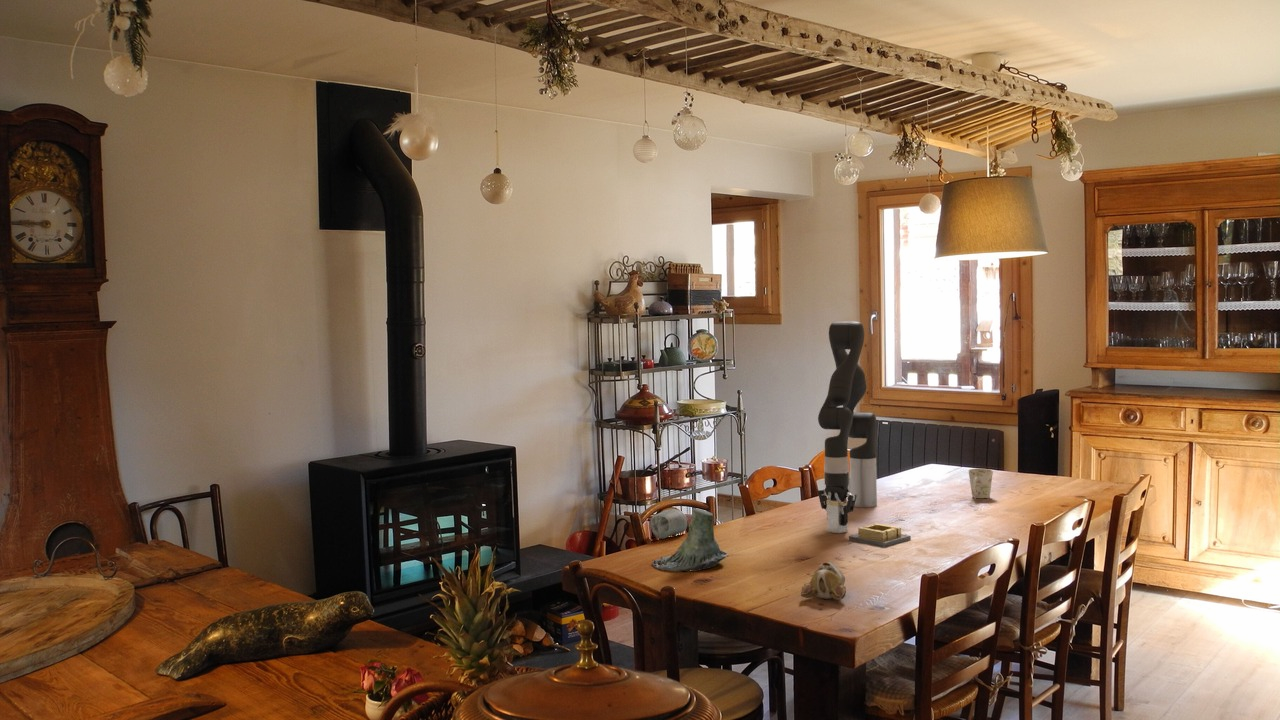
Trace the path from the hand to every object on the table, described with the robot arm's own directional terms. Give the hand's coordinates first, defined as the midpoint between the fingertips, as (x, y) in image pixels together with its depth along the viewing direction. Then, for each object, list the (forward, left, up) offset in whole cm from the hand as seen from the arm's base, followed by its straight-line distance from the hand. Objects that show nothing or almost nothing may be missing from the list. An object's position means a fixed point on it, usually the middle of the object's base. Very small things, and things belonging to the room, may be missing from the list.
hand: (837, 524), depth 307 cm
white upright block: (0, 0, -2) cm, 2 cm away
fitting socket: (+16, 0, -2) cm, 16 cm away
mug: (+3, +78, -3) cm, 78 cm away
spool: (-35, -40, -3) cm, 53 cm away
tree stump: (-5, -59, -3) cm, 60 cm away
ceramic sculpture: (+42, -58, -3) cm, 72 cm away
